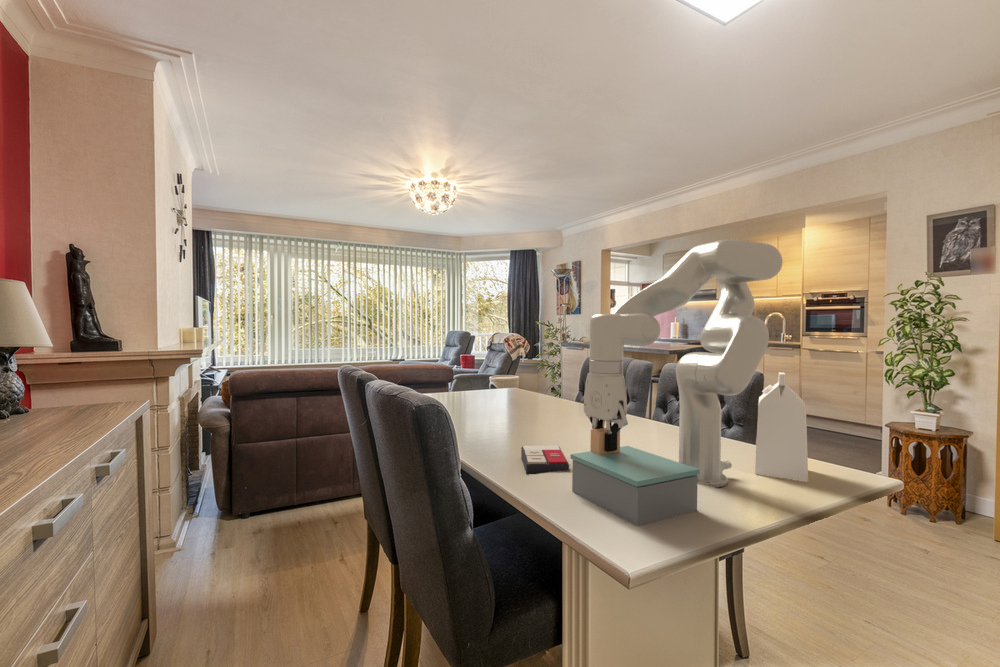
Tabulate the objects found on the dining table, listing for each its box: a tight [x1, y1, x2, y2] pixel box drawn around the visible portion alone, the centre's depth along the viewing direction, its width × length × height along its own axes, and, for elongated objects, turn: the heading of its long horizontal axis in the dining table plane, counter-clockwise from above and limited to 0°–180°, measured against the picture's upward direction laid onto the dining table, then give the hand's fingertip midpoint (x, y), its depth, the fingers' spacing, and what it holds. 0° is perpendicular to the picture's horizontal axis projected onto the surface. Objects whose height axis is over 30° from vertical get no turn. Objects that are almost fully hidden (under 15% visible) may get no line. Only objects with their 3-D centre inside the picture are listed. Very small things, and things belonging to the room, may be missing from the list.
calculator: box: [520, 445, 570, 475], centre depth 126 cm, size 11×4×15 cm
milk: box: [754, 371, 809, 483], centre depth 122 cm, size 12×12×26 cm
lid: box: [570, 427, 700, 487], centre depth 98 cm, size 17×20×6 cm
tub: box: [571, 460, 698, 527], centre depth 98 cm, size 16×20×8 cm
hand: (605, 448), depth 106 cm, fingers closed on lid, 3 cm apart
